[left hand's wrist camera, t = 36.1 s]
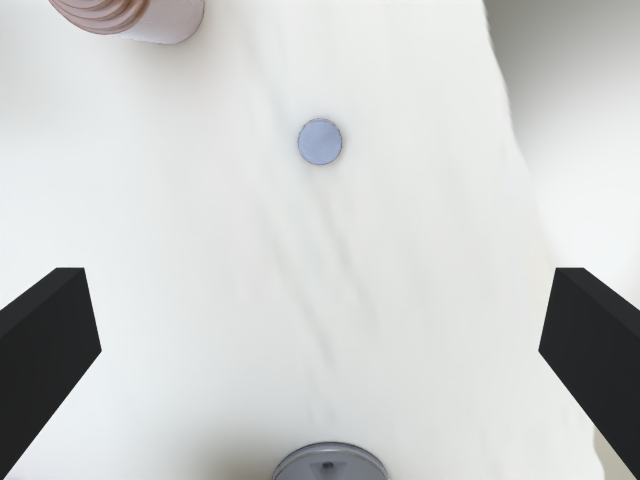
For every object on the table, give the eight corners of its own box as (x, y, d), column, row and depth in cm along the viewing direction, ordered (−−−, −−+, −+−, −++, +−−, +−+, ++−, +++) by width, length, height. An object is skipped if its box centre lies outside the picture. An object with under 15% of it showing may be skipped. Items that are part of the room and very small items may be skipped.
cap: (338, 114, 41) (338, 116, 39) (344, 157, 42) (345, 161, 40) (295, 121, 41) (294, 124, 39) (302, 164, 42) (302, 168, 41)
